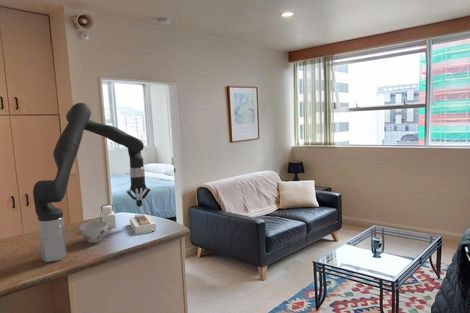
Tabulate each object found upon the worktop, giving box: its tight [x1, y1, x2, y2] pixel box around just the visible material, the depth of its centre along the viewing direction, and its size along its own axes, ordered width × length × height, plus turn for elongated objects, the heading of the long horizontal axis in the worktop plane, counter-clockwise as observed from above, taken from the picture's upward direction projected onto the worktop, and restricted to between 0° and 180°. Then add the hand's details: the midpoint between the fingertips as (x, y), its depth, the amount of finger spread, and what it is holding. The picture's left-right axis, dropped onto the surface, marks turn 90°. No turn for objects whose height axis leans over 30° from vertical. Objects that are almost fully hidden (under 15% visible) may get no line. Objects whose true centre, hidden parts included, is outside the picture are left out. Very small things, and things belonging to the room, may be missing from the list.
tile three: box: [134, 213, 145, 219], centre depth 183 cm, size 4×4×3 cm
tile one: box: [139, 219, 150, 225], centre depth 172 cm, size 4×4×3 cm
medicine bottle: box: [99, 204, 117, 229], centre depth 181 cm, size 7×7×12 cm
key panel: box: [129, 214, 157, 235], centre depth 178 cm, size 19×10×4 cm, turn 27°
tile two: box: [137, 217, 147, 222], centre depth 177 cm, size 4×4×3 cm
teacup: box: [79, 220, 113, 244], centre depth 160 cm, size 15×12×8 cm
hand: (139, 206), depth 182 cm, fingers closed
